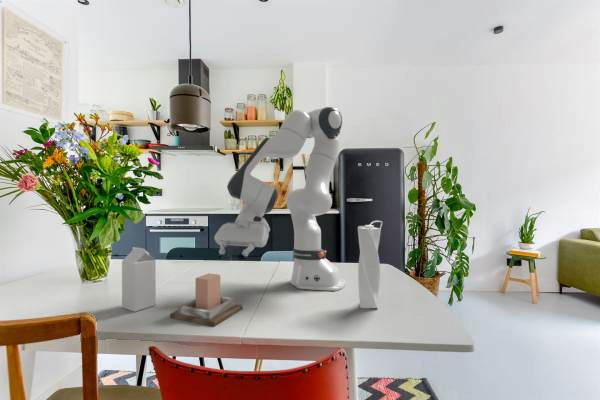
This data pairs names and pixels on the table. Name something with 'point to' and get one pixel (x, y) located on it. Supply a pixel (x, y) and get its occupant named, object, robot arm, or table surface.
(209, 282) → the terracotta post
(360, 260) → the skyscraper
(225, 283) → the table surface
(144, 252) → the milk carton
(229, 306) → the walnut board
